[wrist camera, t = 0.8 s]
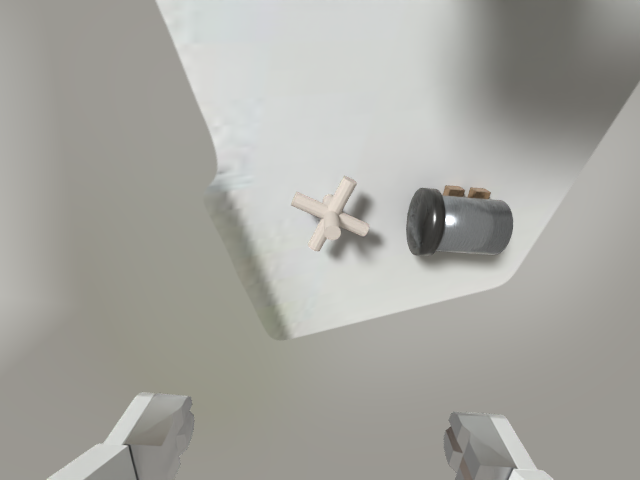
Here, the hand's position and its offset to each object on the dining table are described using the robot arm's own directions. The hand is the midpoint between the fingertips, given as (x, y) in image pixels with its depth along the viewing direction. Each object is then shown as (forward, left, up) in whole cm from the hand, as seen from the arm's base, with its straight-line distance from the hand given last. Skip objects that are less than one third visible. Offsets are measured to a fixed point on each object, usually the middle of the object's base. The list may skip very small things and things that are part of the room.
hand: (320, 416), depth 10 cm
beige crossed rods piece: (+6, +2, -35) cm, 35 cm away
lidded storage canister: (+6, +18, -34) cm, 39 cm away
